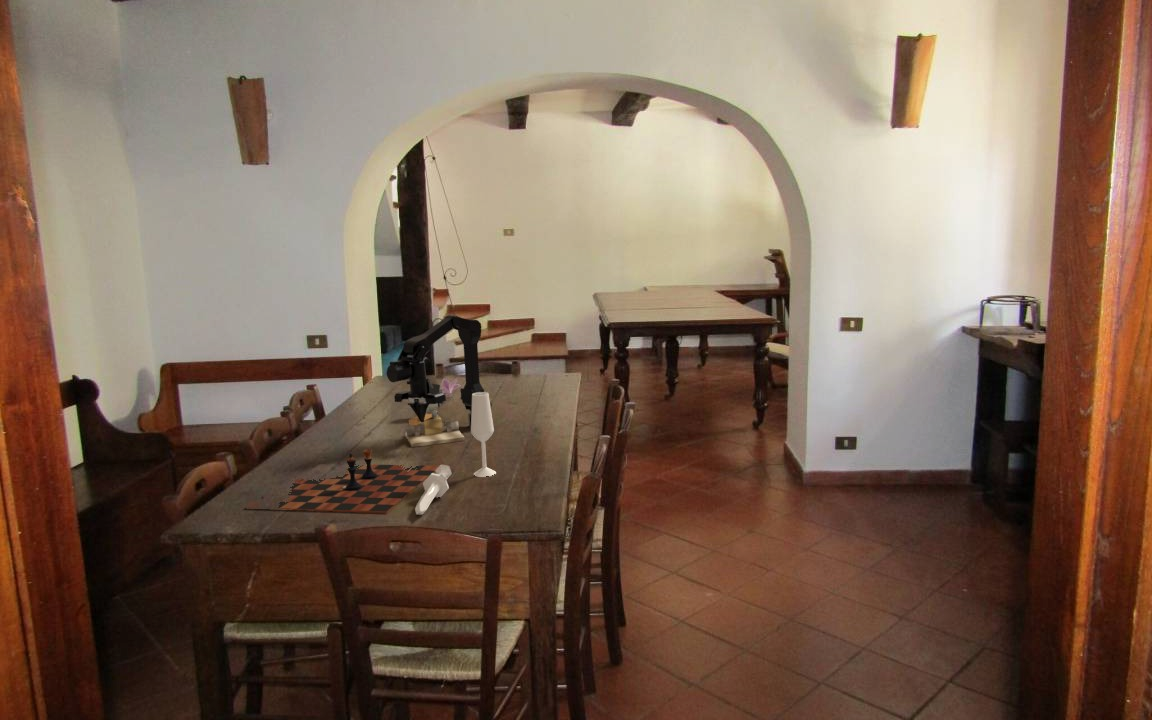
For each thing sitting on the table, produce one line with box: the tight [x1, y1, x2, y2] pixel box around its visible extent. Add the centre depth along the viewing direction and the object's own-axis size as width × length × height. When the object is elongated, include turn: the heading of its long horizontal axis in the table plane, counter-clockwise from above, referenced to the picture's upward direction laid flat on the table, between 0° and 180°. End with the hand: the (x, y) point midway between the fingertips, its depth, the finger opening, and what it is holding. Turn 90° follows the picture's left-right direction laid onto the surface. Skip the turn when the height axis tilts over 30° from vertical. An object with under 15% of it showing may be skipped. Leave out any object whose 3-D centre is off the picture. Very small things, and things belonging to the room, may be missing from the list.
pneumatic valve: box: [422, 389, 447, 416], centre depth 296 cm, size 6×12×12 cm, turn 82°
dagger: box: [414, 464, 453, 516], centre depth 203 cm, size 8×6×28 cm
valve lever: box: [408, 410, 437, 426], centre depth 263 cm, size 3×14×2 cm, turn 158°
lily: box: [440, 378, 462, 401], centre depth 328 cm, size 12×12×10 cm
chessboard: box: [247, 448, 440, 515], centre depth 218 cm, size 40×40×11 cm
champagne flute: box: [470, 391, 497, 478], centre depth 223 cm, size 7×7×24 cm
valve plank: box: [404, 415, 466, 448], centre depth 266 cm, size 18×16×7 cm
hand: (422, 422), depth 259 cm, fingers closed
